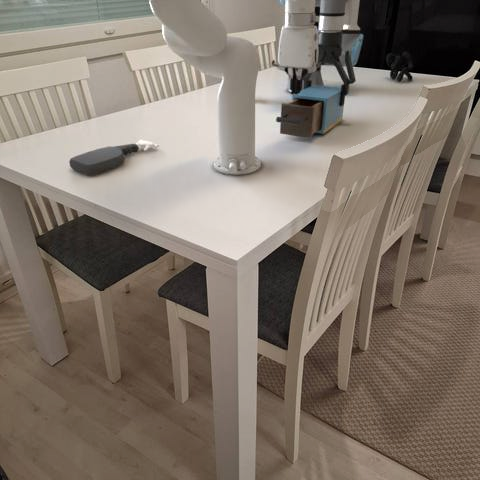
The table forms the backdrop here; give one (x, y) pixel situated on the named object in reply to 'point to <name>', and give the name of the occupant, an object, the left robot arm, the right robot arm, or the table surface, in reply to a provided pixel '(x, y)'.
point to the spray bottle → (106, 157)
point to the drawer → (301, 117)
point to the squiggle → (399, 66)
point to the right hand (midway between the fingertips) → (324, 103)
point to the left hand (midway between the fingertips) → (295, 93)
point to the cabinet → (325, 104)
